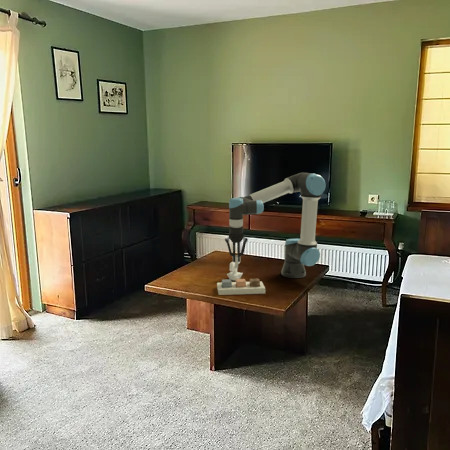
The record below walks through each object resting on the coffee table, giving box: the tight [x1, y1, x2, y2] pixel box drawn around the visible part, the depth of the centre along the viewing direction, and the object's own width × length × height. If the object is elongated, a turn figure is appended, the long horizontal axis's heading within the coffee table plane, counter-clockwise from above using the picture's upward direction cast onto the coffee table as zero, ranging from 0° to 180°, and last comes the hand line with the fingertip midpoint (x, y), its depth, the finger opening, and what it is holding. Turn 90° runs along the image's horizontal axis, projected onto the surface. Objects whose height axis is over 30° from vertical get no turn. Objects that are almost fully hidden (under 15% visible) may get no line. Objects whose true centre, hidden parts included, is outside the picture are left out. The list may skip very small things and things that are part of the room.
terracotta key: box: [235, 278, 247, 287], centre depth 251 cm, size 5×5×4 cm
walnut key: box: [249, 278, 260, 287], centre depth 252 cm, size 5×5×4 cm
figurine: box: [226, 254, 244, 282], centre depth 270 cm, size 7×9×15 cm
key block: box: [216, 281, 266, 296], centre depth 251 cm, size 26×12×3 cm, turn 95°
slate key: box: [221, 278, 233, 288], centre depth 250 cm, size 5×5×4 cm
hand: (236, 267), depth 249 cm, fingers closed
